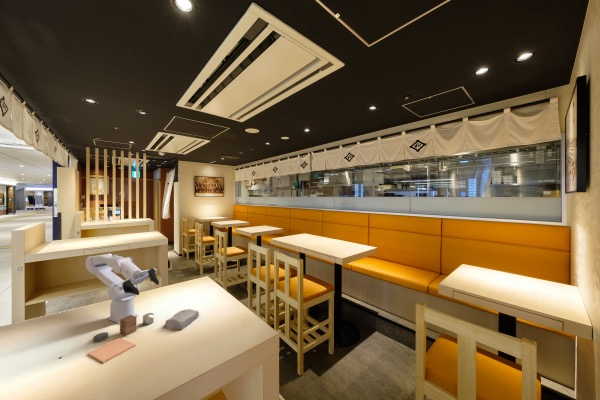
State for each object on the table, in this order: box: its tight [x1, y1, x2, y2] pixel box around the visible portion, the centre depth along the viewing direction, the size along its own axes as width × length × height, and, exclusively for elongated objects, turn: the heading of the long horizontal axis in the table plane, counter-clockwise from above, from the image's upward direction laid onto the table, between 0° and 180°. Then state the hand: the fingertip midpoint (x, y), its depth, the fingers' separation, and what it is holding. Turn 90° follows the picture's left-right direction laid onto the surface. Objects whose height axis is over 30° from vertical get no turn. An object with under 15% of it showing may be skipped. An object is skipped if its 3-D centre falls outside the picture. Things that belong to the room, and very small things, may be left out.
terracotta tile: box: [87, 337, 137, 364], centre depth 83 cm, size 10×10×1 cm
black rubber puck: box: [92, 331, 109, 343], centre depth 90 cm, size 4×4×2 cm
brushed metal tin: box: [142, 312, 155, 326], centre depth 101 cm, size 4×4×4 cm
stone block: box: [165, 308, 200, 331], centre depth 103 cm, size 12×5×10 cm
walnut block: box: [119, 315, 138, 337], centre depth 94 cm, size 4×4×6 cm
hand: (148, 287), depth 95 cm, fingers open, 7 cm apart
